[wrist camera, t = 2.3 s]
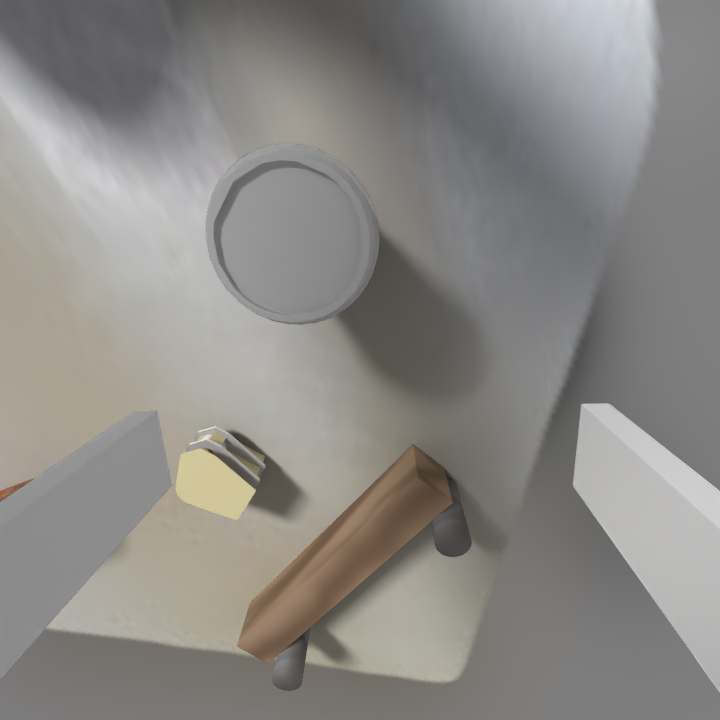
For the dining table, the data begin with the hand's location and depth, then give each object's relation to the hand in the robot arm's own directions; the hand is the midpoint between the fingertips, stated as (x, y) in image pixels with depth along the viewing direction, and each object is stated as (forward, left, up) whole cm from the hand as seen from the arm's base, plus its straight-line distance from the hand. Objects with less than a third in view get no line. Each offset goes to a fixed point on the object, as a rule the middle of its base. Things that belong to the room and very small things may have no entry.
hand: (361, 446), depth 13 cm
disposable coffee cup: (-6, +1, -23) cm, 24 cm away
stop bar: (+16, -23, -23) cm, 36 cm away
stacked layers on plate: (0, -21, -24) cm, 32 cm away
